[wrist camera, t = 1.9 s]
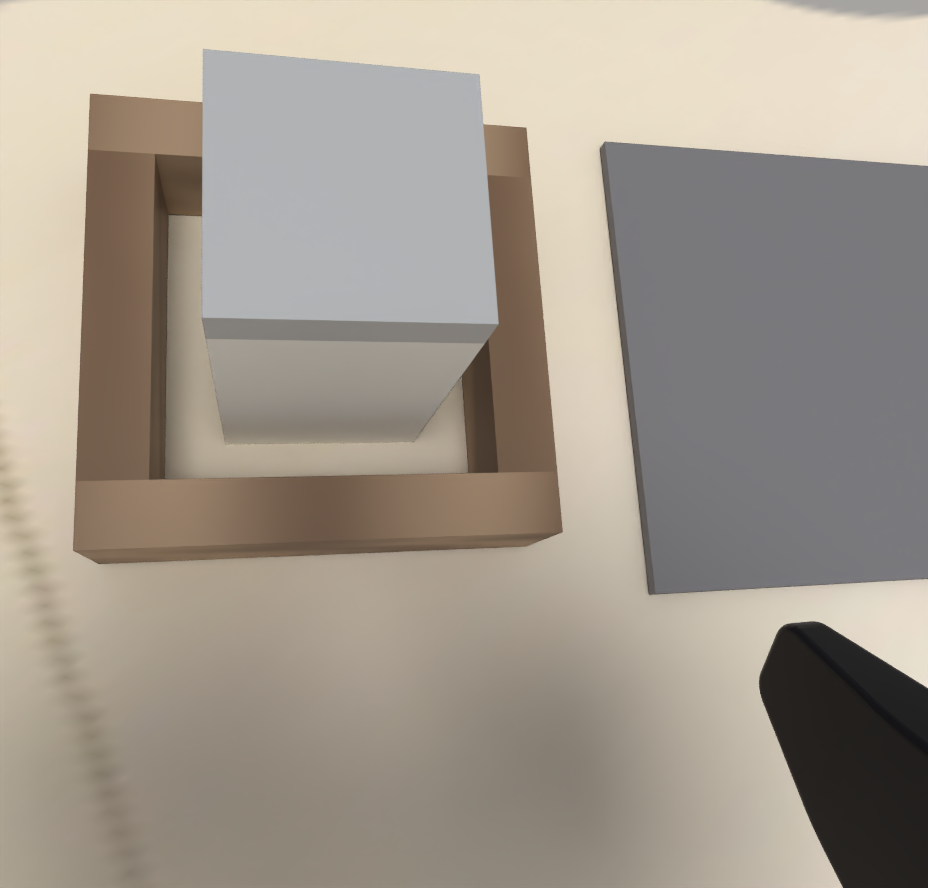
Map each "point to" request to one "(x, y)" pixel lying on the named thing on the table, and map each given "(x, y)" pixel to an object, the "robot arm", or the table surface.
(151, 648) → the table surface
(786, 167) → the rubber mat
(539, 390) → the frame
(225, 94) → the grey parts box
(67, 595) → the table surface
